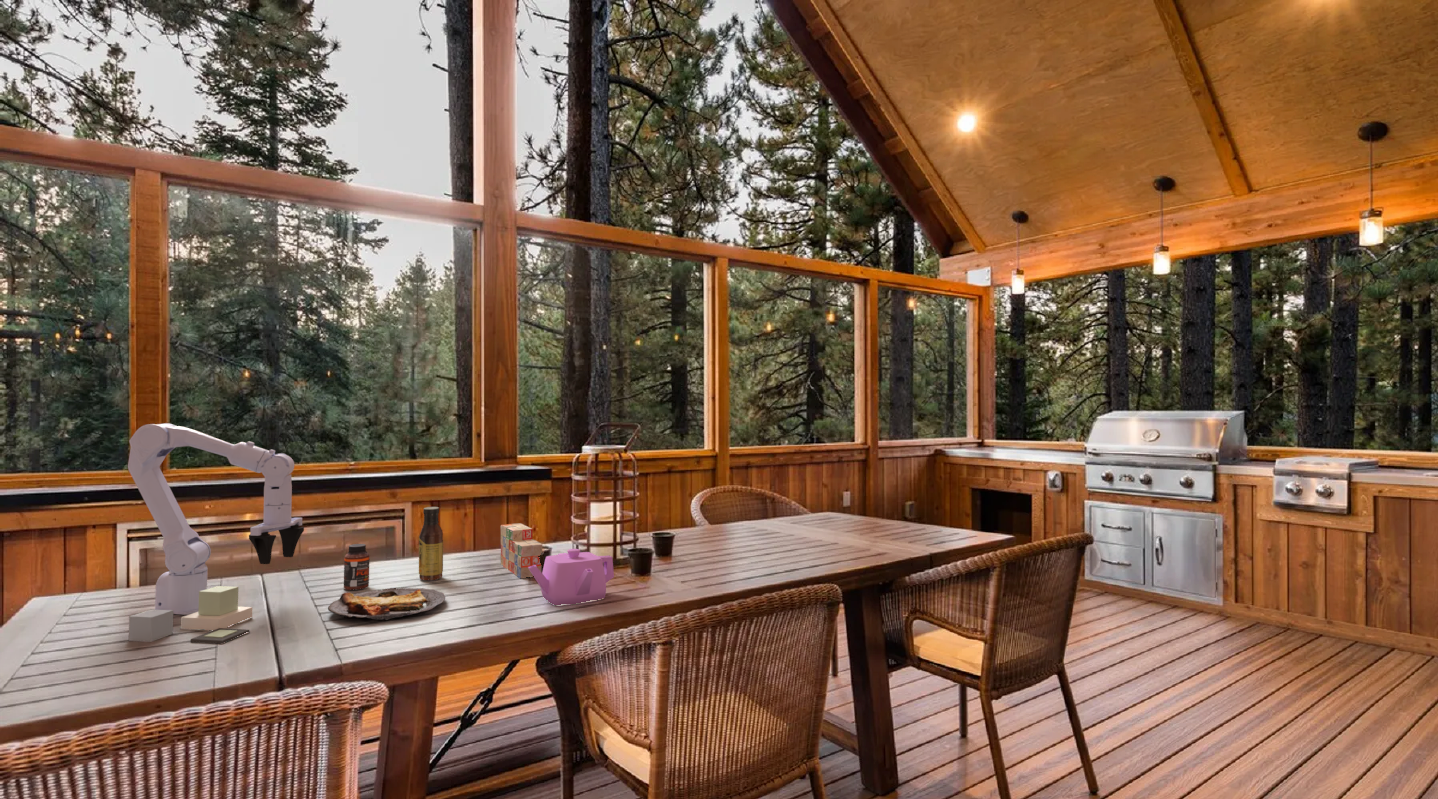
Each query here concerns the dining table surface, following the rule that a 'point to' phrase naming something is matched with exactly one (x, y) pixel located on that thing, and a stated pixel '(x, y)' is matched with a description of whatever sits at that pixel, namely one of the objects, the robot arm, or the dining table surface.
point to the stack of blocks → (519, 549)
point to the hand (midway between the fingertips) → (276, 560)
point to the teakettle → (574, 577)
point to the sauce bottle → (431, 546)
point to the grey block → (150, 625)
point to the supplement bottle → (356, 568)
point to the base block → (215, 619)
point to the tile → (219, 635)
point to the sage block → (218, 600)
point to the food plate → (386, 603)
